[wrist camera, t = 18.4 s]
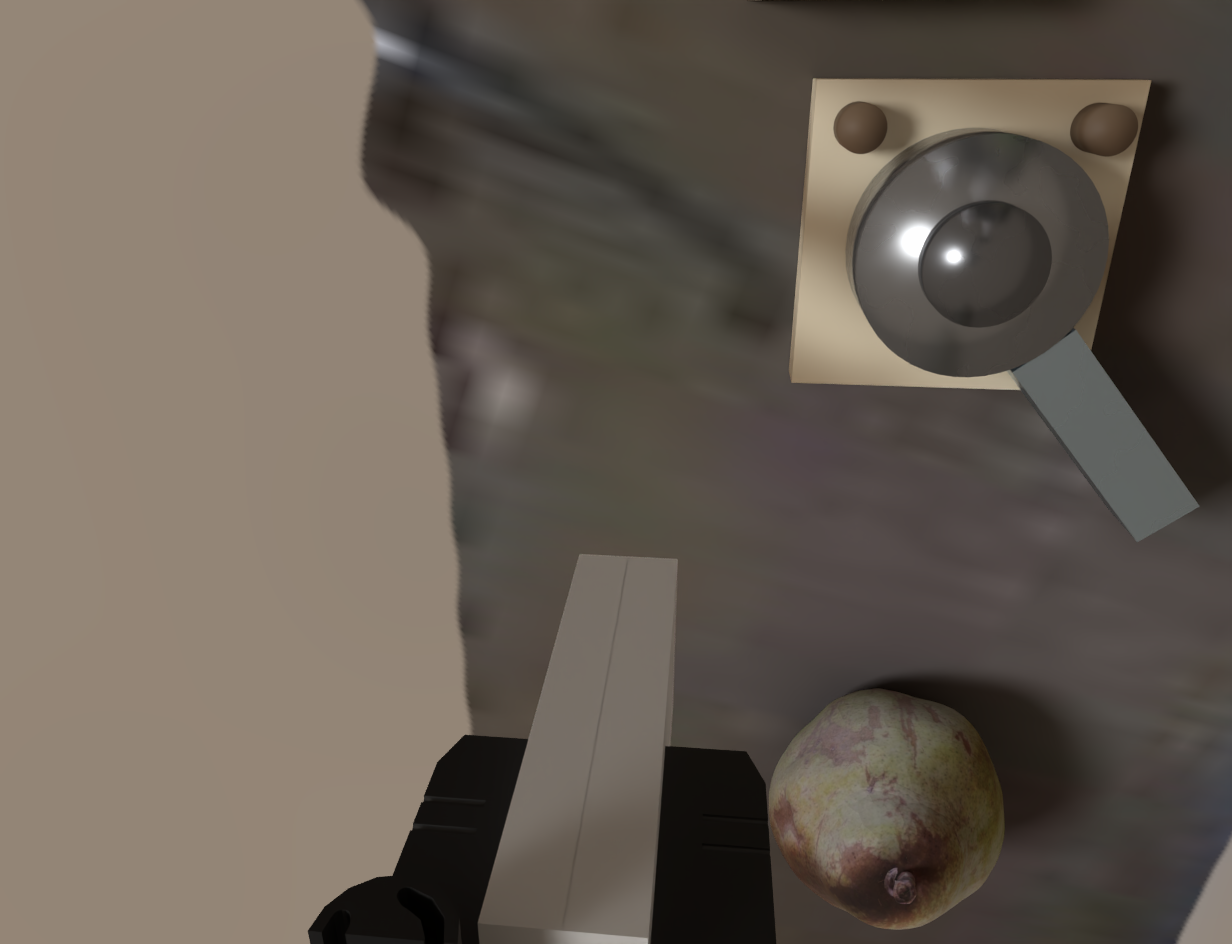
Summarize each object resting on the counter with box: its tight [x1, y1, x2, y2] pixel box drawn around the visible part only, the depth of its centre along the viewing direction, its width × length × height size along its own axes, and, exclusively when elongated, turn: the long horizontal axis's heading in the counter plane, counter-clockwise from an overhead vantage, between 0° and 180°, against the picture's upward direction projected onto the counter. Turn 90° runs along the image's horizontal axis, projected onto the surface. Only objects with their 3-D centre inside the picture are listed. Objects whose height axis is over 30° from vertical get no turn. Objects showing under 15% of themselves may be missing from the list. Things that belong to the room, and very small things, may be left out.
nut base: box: [789, 78, 1151, 390], centre depth 33 cm, size 11×11×3 cm
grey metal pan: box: [845, 128, 1199, 542], centre depth 32 cm, size 16×8×4 cm, turn 41°
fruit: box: [769, 688, 1005, 930], centre depth 39 cm, size 10×9×12 cm
